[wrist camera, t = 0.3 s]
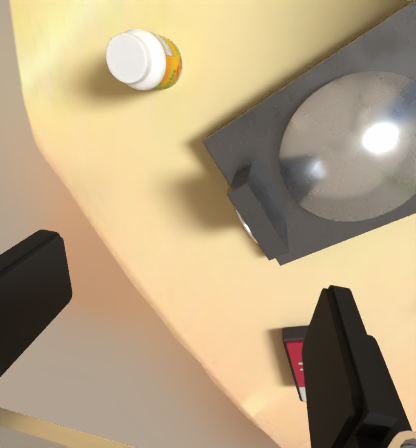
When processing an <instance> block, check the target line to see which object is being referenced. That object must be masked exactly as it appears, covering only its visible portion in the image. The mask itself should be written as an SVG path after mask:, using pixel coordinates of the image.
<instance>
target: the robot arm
mask: <svg viewBox="0 0 416 448" xmlns="http://www.w3.org/2000/svg"><path fill="white" fill-rule="evenodd" d="M71 298H72V288H71V282H70V276H69V270H68V264H67V258H66V252H65V247H64V241H63V238H61V237H60V235H59V234H58V233H57V232H54V231H48V230H39V231H37V232H35V233H34V234H32V235H31V236H29V237H28V238H26V239H25V240H23V241H21V242H20V243H18V244H17V245H15V246H13V247H12V248H11V249H9V250H7V251H6V252H4V253H3V254H1V255H0V377H1V375H3V374H4V373H5V371H6V370H7V369H8V368H9V367H10V366H11V365H12V364H13V363H14V361H16V359H17V358H18V357H19V356H20V355H21V354H22V353H23V352H24V351H25V350H26V348H28V346H29V345H30V344H31V343H32V342H33V341H34V340H35V339H36V338H37V337H38V336H39V334H40V333H41V332H42V331H43V330H44V329H45V328H46V327H47V326H48V325H49V324H50V322H51V321H52V320H53V319H54V318H55V317H56V316H57V315H58V314H59V313H60V312H61V311H62V309H63V308H64V307H65V306H66V305H67V304H68V303H69V302H70V300H71ZM302 363H303V373H304V383H305V392H306V402H307V411H308V421H309V431H310V440H311V448H416V432H413V431H412V429H411V426H410V424H409V421H408V419H407V416H406V414H405V411H404V409H403V406H402V404H401V401H400V399H399V396H398V394H397V391H396V389H395V386H394V384H393V381H392V379H391V376H390V374H389V371H388V368H387V366H386V363H385V361H384V358H383V356H382V353H381V351H380V348H379V346H378V343H377V341H376V340H375V338H374V337H373V336H370V335H367V333H366V330H365V327H364V325H363V322H362V319H361V317H360V314H359V311H358V308H357V306H356V303H355V300H354V298H353V295H352V292H351V290H350V289H349V288H344V287H339V286H334V285H330V286H329V288H328V289H326V288H323V289H322V291H321V294H320V297H319V300H318V303H317V305H316V308H315V311H314V314H313V317H312V320H311V322H310V325H309V328H308V331H307V334H306V337H305V339H304V342H303V345H302ZM0 448H135V447H132V446H128V445H125V444H121V443H118V442H115V441H112V440H108V439H105V438H101V437H98V436H94V435H91V434H88V433H84V432H81V431H78V430H74V429H71V428H67V427H64V426H61V425H57V424H54V423H50V422H47V421H44V420H40V419H37V418H34V417H30V416H27V415H23V414H20V413H16V412H13V411H9V410H6V409H3V408H0Z"/></svg>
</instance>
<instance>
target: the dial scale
mask: <svg viewBox="0 0 416 448" xmlns="http://www.w3.org/2000/svg"><path fill="white" fill-rule="evenodd" d="M202 142H203V143H204V145H205V146H206V148H207V150H208V151H209V153H210V154H211V156H212V158H213V159H214V161H215V162H216V164H217V165H218V167H219V169H220V170H221V172H222V173H223V175H224V177H225V178H226V180H227V181H228V183H229V185H230V188H229V190H228V193H227V195H228V197H229V199H230V200H231V202H232V203H233V205H234V207H235V210H236V213H237V215H238V217H239V219H240V221H241V223H242V225H243V228H244V230H245V231H246V232H247V233H248V235H249V236H250V237H251V238H252V239H253V240H254V241H255V242H256V243H258V244H259V246H260V247H261V249H262V250H263V252H264V253H265V255H266V257H267V258H268V260H271V259H274V258H276V260H277V261H278V263H279V264H280V266H281V265H283V264H286V263H288V262H291V261H294V260H296V259H299V258H301V257H304V256H306V255H309V254H311V253H314V252H317V251H319V250H322V249H324V248H327V247H329V246H332V245H335V244H337V243H340V242H342V241H345V240H347V239H350V238H353V237H355V236H358V235H360V234H363V233H365V232H368V231H371V230H373V229H376V228H378V227H381V226H383V225H386V224H389V223H391V222H394V221H396V220H399V219H401V218H404V217H407V216H409V215H412V214H414V213H416V0H414V1H412V2H410V3H409V4H407V5H406V6H404V7H403V8H401V9H400V10H398V11H397V12H395V13H394V14H392V15H391V16H389V17H388V18H386V19H385V20H383V21H382V22H380V23H379V24H377V25H376V26H374V27H373V28H371V29H370V30H368V31H367V32H365V33H364V34H362V35H361V36H359V37H358V38H356V39H355V40H353V41H352V42H350V43H349V44H347V45H346V46H344V47H342V48H341V49H339V50H338V51H336V52H335V53H333V54H332V55H330V56H329V57H327V58H326V59H324V60H323V61H321V62H320V63H318V64H317V65H315V66H314V67H312V68H311V69H309V70H308V71H306V72H305V73H303V74H302V75H300V76H299V77H297V78H296V79H294V80H293V81H291V82H290V83H288V84H287V85H285V86H284V87H282V88H281V89H279V90H277V91H276V92H274V93H273V94H271V95H270V96H268V97H267V98H265V99H264V100H262V101H261V102H259V103H258V104H256V105H255V106H253V107H252V108H250V109H249V110H247V111H246V112H244V113H243V114H241V115H240V116H238V117H237V118H235V119H234V120H232V121H231V122H229V123H228V124H226V125H225V126H223V127H222V128H220V129H219V130H217V131H216V132H214V133H213V134H211V135H209V136H208V137H207V138H206V139H204V140H203V141H202Z"/></svg>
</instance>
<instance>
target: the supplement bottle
mask: <svg viewBox="0 0 416 448" xmlns="http://www.w3.org/2000/svg"><path fill="white" fill-rule="evenodd" d="M106 61H107V65H108V68H109V70H110V71H111V73H112V74H113V76H114V77H115V78H116V79H118V80H119V81H121V82H123V83H125V84H127V85H128V86H129V87H131V88H133V89H136V90H153V89H165V88H169V87H171V86H173V85H174V84H175V83H176V82H177V81H178V80H179V78H180V76H181V74H182V69H183V60H182V56H181V53H180V51H179V49H178V47H177V46H176V45H175V44H174V43H173V42H172V41H171V40H169V39H167V38H165V37H162V36H159V35H157V34H154V33H151V32H149V31H146V30H142V29H131V30H128V31H126V32H125V33H121V34H118V35H116V36H114V37H113V38H112V39H111V40H110V42H109V43H108V46H107V49H106Z"/></svg>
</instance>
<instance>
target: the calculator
mask: <svg viewBox="0 0 416 448" xmlns="http://www.w3.org/2000/svg"><path fill="white" fill-rule="evenodd" d="M308 328H309V326H299V327H287V328H283V343H284V347H285V350H286V353H287V357H288V360H289V364H290V367H291V371H292V374H293V377H294V381H295V384H296V388H297V391H298V395H299V398H300V400H301V401H303V402H306V392H305V383H304V373H303V363H302V345H303V342H304V339H305V337H306V334H307V331H308Z"/></svg>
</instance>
